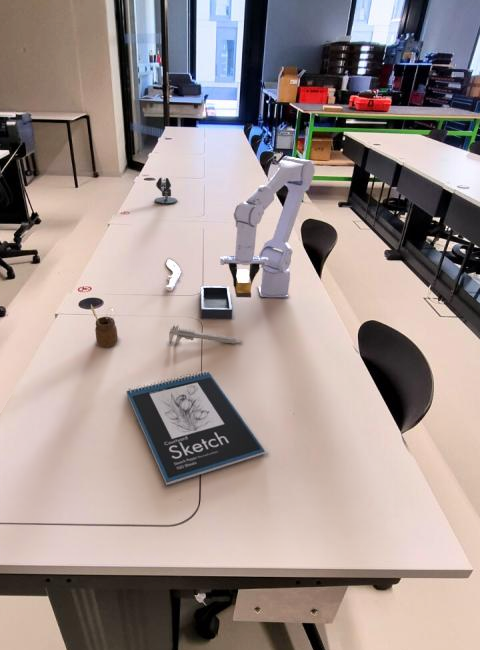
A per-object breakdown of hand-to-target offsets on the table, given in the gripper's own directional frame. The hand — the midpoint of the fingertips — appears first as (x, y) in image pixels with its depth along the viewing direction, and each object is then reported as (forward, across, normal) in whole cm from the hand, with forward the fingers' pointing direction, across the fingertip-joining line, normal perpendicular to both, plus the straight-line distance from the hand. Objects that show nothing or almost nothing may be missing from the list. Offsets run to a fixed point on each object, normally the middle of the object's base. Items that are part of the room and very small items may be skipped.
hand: (242, 285), depth 140 cm
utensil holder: (+9, -40, -21) cm, 46 cm away
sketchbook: (+9, -16, -54) cm, 57 cm away
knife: (+9, -24, +27) cm, 37 cm away
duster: (+1, 0, 0) cm, 1 cm away
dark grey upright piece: (+8, -30, +125) cm, 129 cm away
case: (+8, -8, +2) cm, 12 cm away
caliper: (+9, -12, -21) cm, 26 cm away
